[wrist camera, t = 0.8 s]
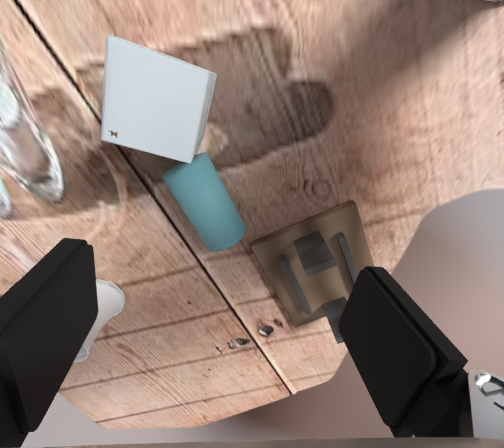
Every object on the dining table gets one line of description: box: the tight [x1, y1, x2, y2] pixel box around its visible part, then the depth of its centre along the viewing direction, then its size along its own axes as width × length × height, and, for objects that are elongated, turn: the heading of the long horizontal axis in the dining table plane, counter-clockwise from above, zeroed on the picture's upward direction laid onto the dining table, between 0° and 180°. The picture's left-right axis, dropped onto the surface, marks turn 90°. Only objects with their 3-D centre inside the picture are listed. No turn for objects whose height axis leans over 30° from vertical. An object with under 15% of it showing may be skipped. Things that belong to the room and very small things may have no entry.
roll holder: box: [250, 200, 374, 344], centre depth 41 cm, size 16×19×8 cm
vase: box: [73, 279, 125, 363], centre depth 40 cm, size 8×8×10 cm
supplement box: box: [101, 35, 217, 163], centre depth 26 cm, size 7×7×13 cm
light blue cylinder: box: [162, 153, 247, 252], centre depth 35 cm, size 11×6×6 cm, turn 25°
